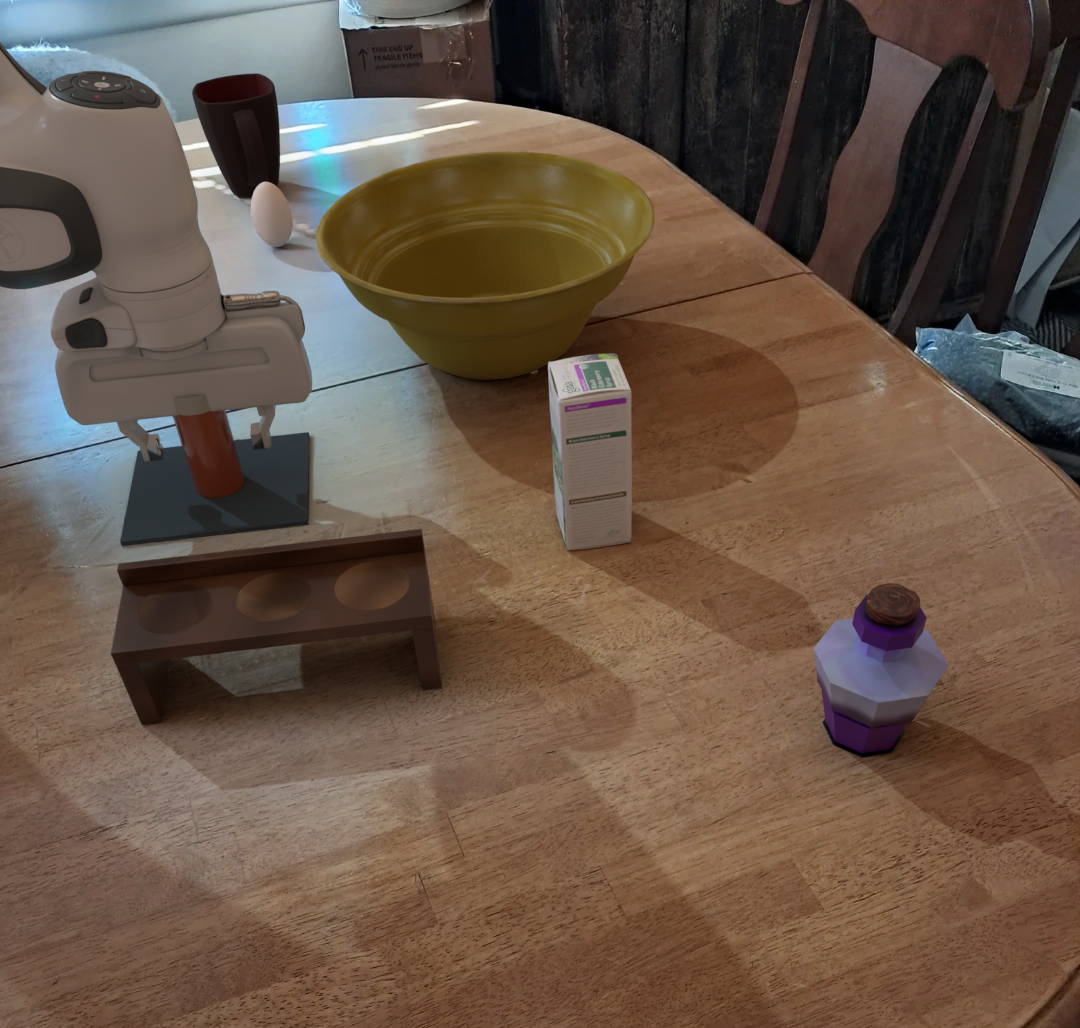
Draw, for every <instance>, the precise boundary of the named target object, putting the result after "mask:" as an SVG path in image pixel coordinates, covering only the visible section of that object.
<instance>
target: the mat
mask: <svg viewBox="0 0 1080 1028" xmlns="http://www.w3.org/2000/svg"><path fill="white" fill-rule="evenodd" d="M234 442H235V446H236V450H237V453H238V457H239V461H240V464H241V468H242V472H243V475H244V484H243V486H242V487H241V488H240V489H239V490H238V491H237V492H235V493H233V494H231V495H229V496H225V497H221V498H208V497H204V496H201V495H200V494H199V493H198V492H197V491H196V489H195V486H194V483H193V480H192V476H191V473H190V470H189V467H188V464H187V460H186V457H185V454H184V451H183V448H182V445H178V446H167V447H163V452H164V453H163V456H162V457H163V459H162V460H158V461H149V462H145V461H144V458H143V455H142V453H141V450H140V449H139V450H137V453H136V457H135V463H134V468H133V473H132V477H131V483H130V488H129V494H128V499H127V504H126V509H125V515H124V519H123V525H122V530H121V536H120V540H119V543H120V545H121V546H129V545H130V546H131V545H139V544H147V543H157V542H164V541H165V542H166V541H175V540H181V539H182V540H184V539H190V538H191V539H192V538H201V537H207V536H208V537H209V536H218V535H226V534H227V535H228V534H235V533H244V532H245V533H246V532H252V531H254V532H255V531H262V530H270V529H271V530H272V529H280V528H288V527H297V526H306V525H309V511H310V509H309V505H310V499H309V497H310V433H309V431H305V432H296V433H288V434H278V435H271V448H268V449H258V450H254V448H253V442H252V441H251V437H250V438H242V439H234Z"/></svg>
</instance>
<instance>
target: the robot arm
mask: <svg viewBox="0 0 1080 1028" xmlns="http://www.w3.org/2000/svg"><path fill="white" fill-rule="evenodd" d="M198 213H199V201H198V197H197V191H196V188H195V185H194V181H193V176H192V173H191V169H190V166H189V163H188V160H187V157H186V153H185V151H184V148H183V144H182V142H181V139H180V137H179V133H178V130H177V128H176V125H175V123H174V121H173V118H172V116H171V114H170V112H169V110H168V108H167V106H166V105H165V103H164V101H163V99H161V97H160V96H159V94H157V91H155V90H154V89H153V88H151V87H150V86H149V85H147V84H145V83H144V82H142V81H140V80H138V79H136V78H133V77H132V76H129V75H126V74H123V73H118V72H112V71H106V70H105V71H104V70H82V71H79V72H74V73H73V72H72V73H67V74H64V75H61V76H58V77H56V78H55V79H53V80H52V81H51V82H50V83H49V84H48V86H46V85H44V84H43V83H41V82H40V81H39V80H38V79H37V78H35V76H33V75H32V74H30V73H29V72H28V71H27V70H26V69H25V68H24V67H23V66H21V65H20V63H19V62H18V61H17V60H16V59H15V58H14V57H13V55H12V54H10V52H9V51H8V50H7V48H6V47H5V46H4V45H3V44H2V42H0V288H3V289H4V288H5V289H10V290H30V289H34V288H35V289H36V288H41V287H44V286H49V285H52V284H57V283H60V282H65V281H66V280H68V281H69V280H71V279H74V278H78V277H80V276H83V275H85V274H87V273H89V272H93V273H94V274H95V277H94V278H92V279H89V280H87V281H85V282H82V283H81V284H78V285H76V286H73V287H71V288H69V289H67V290H66V291H64V293H63V294H62V295H61V297H60V298H59V300H58V302H57V305H56V307H55V309H54V312H53V315H52V318H51V323H50V336H51V340H52V341H53V343H54V345H55V347H56V348H57V349H58V351H57V353H56V358H55V362H54V370H55V377H56V382H57V385H58V389H59V394H60V396H61V400H62V403H63V406H64V408H65V411H66V413H67V415H68V417H69V418H71V419H72V420H73V421H75V422H76V423H78V424H79V425H81V426H92V425H93V426H95V425H102V424H103V425H104V424H112V423H117V426H118V429H119V432H120V433H121V434H122V435H124V436H125V437H126V438H127V439H128V440H130V441H131V442H132V443H133V445H136V446H137V447H139V451H140V450H141V453H142V455H143V458H144V461H145V462H149V461H158V460H162V459H163V457H162V456H163V453H164V452H163V448H164V446H163V444H162V443H161V437H160V435H159V433H149V432H148V431H147V430H146V429H145V428H144V427H143V426H142V425H141V424H140V423H139V422H138V421H139V420H151V419H158V418H167V417H168V418H169V417H173V416H178V415H179V414H177V409H176V406H175V403H174V400H173V398H174V397H182V396H192V395H201V394H206V397H207V401H208V405H209V407H210V409H211V412H216V411H226V412H227V411H233V410H242V409H252V408H253V409H255V408H256V410H257V415H258V417H261V418H260V421H259V422H253V423H250V430H249V436H250V438H251V441H252V442H253V448H254V450H258V449H268V448H271V436H272V435H271V431H270V430H271V426H272V425H273V421H274V419H275V417H276V406H281V405H291V404H300V403H304V402H305V401H307V399H308V397H309V396H310V394H311V393H312V391H313V373H312V367H311V365H310V360H309V356H308V353H307V350H306V347H305V345H304V342H303V338H304V335H305V333H306V325H305V320H304V315H303V311H302V308H301V306H300V305H299V303H298V302H297V301H295V300H294V299H293V298H291V297H290V296H288V295H284V294H283V295H282V294H280V292H279V291H277V290H265V291H262V292H259V293H257V292H256V293H236V294H235V293H234V294H225V295H224V294H222V290H221V286H220V282H219V279H218V275H217V271H216V267H215V262H214V258H213V256H212V252H211V249H210V247H209V244H208V243H207V241H206V239H205V237H204V236H203V233H202V232H201V228H200V225H199V218H198V215H199V214H198Z"/></svg>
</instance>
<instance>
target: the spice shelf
mask: <svg viewBox="0 0 1080 1028" xmlns="http://www.w3.org/2000/svg"><path fill="white" fill-rule="evenodd" d="M116 572H117V575H118V577H119V579H120V582H121V585H122V589H121V595H120V600H119V606H118V611H117V617H116V622H115V628H114V633H113V638H112V643H111V649H110V655H111V658H112V660H113V663H114V665H115V667H116V669H117V671H118V673H119V676H120V679H121V680H122V683H123V685H124V688H125V690H126V692H127V695H128V697H129V699H130V702H131V704H132V707H133V709H134V711H135V713H136V716H137V718H138V720H139V722H140V725H142V726H143V725H152V724H161V723H162V722H163V715H164V707H165V701H166V692H167V686H168V685H167V684H168V678H169V677H168V676H169V669H170V662H171V660H175V659H183V658H185V659H186V658H192V657H199V656H200V657H201V656H209V655H218V654H227V653H233V652H235V653H236V652H241V651H242V652H244V651H249V650H250V651H251V650H252V651H253V650H260V649H267V648H276V647H284V646H293V645H301V644H309V643H318V642H327V641H333V640H334V641H335V640H343V639H350V638H352V639H353V638H360V637H368V636H377V635H385V634H392V633H393V634H395V633H400V632H401V633H403V632H410V631H411V634H412V638H413V646H414V651H415V658H416V664H417V670H418V675H419V681H420V687H421V691H428V690H429V691H430V690H436V689H442V688H443V683H442V673H441V664H440V656H439V655H440V654H439V644H438V636H437V635H438V634H437V625H436V617H435V616H436V615H435V610H434V603H433V595H432V588H431V583H430V576H429V569H428V562H427V553H426V548H425V541H424V534H423V529H422V528H415V529H408V530H399V531H390V532H382V533H372V534H365V535H356V536H348V537H347V536H346V537H337V538H329V539H320V540H312V541H303V542H294V543H286V544H285V543H284V544H275V545H268V546H260V547H259V546H258V547H251V548H242V549H241V548H240V549H233V550H225V551H215V552H206V553H197V554H188V555H180V556H172V557H171V556H170V557H163V558H153V559H146V560H138V561H128V562H119V563H118V564H117V567H116Z"/></svg>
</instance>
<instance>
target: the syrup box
mask: <svg viewBox="0 0 1080 1028" xmlns="http://www.w3.org/2000/svg"><path fill="white" fill-rule="evenodd" d="M547 375H548V377H547V378H548V398H549V399H548V401H549V417H550V430H551V431H550V432H551V433H550V434H551V455H552V469H553V471H552V472H553V490H554V503H555V504H554V505H555V506H554V507H555V515H556V518H557V523H558V524H559V528H560V531H561V535H562V539H563V543H564V546H565V549H566V550H567V551H577V550H586V549H595V548H602V547H608V546H616V545H622V544H627V543H628V544H629V543H631V542H632V522H633V521H632V518H633V457H632V456H633V451H632V450H633V449H632V446H633V445H632V444H633V442H632V439H633V438H632V435H633V433H632V389H631V386H630V385H629V381H628V379H627V377H626V374H625V372H624V370H623V367H622V364H621V362H620V360H619V357H618V354H617V353H614V352H613V353H595V354H584V355H580V356H579V355H578V356H572V357H568V358H567V357H566V358H563V359H557V360H553V361H551V362H548V364H547Z"/></svg>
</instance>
